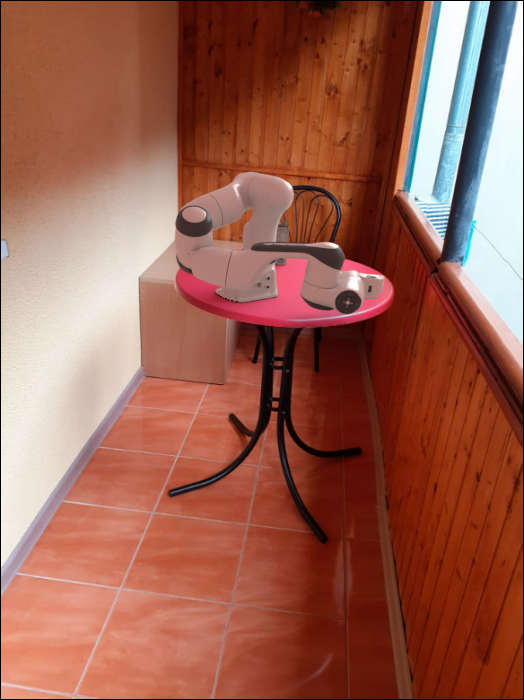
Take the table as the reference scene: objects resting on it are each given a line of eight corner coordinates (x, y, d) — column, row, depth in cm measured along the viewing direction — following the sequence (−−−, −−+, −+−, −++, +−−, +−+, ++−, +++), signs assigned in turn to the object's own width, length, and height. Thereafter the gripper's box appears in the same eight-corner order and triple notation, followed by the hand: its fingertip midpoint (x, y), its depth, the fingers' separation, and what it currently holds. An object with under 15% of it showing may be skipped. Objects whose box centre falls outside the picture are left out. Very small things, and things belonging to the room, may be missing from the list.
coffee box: (270, 258, 238) (272, 220, 232) (286, 259, 239) (288, 221, 232) (270, 264, 230) (272, 224, 224) (286, 265, 230) (289, 225, 224)
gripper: (314, 292, 171) (318, 279, 184) (383, 299, 168) (382, 286, 181) (316, 272, 168) (320, 260, 181) (385, 279, 165) (385, 266, 178)
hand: (351, 273), depth 181 cm, fingers closed
